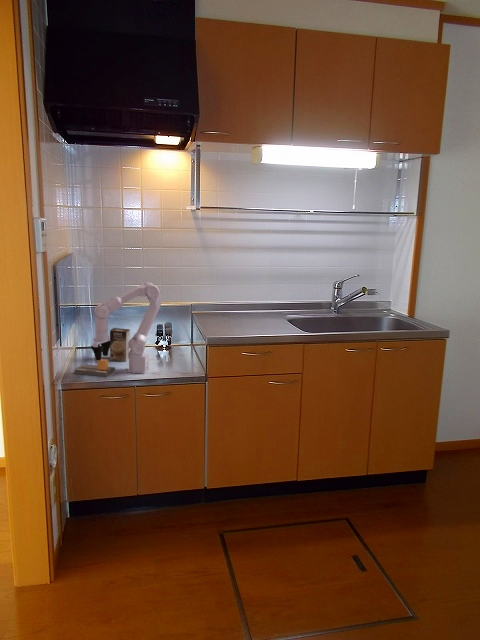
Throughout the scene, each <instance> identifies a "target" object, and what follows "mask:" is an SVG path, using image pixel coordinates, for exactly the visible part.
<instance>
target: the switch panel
mask: <svg viewBox="0 0 480 640" xmlns="http://www.w3.org/2000/svg"><path fill="white" fill-rule="evenodd" d="M91 365H92V364H87V365H86V364H81V365H80V366H78V367H76V368H75V369H74V374H76V375H86V376H92V377H93V376H94V377H95V376H96V377H105V378H107V377H108V376H109V375H111V374H112V373H113V372H114V370H113V368H111V367H112V366H108V369H107V370H98V365H97V366H91Z"/></svg>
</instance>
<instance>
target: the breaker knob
mask: <svg viewBox="0 0 480 640" xmlns="http://www.w3.org/2000/svg"><path fill="white" fill-rule="evenodd" d="M96 361H97V366H98V370H107V369H108V367H109V359H107V358H106V359H105V358H101V360H100V361H99V360H96Z"/></svg>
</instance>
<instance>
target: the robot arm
mask: <svg viewBox="0 0 480 640" xmlns="http://www.w3.org/2000/svg"><path fill="white" fill-rule="evenodd" d="M161 293H162V292H161V291H160V289H159V287H158V285H156V284H154V283H153V282H150V281H146V282H144V283H142V284H140V285H138V286H137V287H135V288H133V289H131V290H130V291H129V292H127V293H125V294H123V295H122V296H115V297H114V296H112V297H111V298H110V299H109V300H107V301H105V302H104V301H103V302H101V304H97V305H96V306H95V307H94V310H93V313H94V315H95V320H94V326H95V327H94V329H95V331H94V332H95V334H94V336H95V337H94V338H92V341H93V342H92V345H90V349H91V350H92V352H93V354H94V357H95V360H96V361H97V360H99V361H100V360H101V359H102V357H108V355H109V353H110V345H111V343H112V341H110V335H109V331H108V330H109V323H108V317H109V315H110V314H112V313H114V312H116V311H117V310H119V309H122V308H123V306H124V304H125V303H128V302H130V301H131V300H133V299H135V298H137V297H146V298H147V299H148V300H147V301H148V303H149V304H148V307H147V309H146V311H145V313H144V316H143V318H142V320H141V322H140V325H139V326H138V329H137V331H136V333H134V335H133V337H131V338H130V341H129V343H128V346H129V348H130V351H129V359H128V368H127V370H126V371H125V372H127V373H135V374H143V375H144V374H146V373H147V372H148V371H149V370H150V355H149V354H148V353H145V349H146V343H147V336H148V334H149V331H150V330H151V327H152V325H153V323H154V321H155V319H156V316H157V315H158V312H159V311H160V308H161V306H162V299H161Z"/></svg>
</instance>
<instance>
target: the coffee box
mask: <svg viewBox="0 0 480 640" xmlns="http://www.w3.org/2000/svg"><path fill="white" fill-rule="evenodd" d="M130 331H131V329H129V328H119V327H113V328H111V329H110V330H109V336H110V340H109V341H112V343H111V345H110V348H109V361H118V362H127V361H129V351H130V348H129V346H128V343H129V341H130V339H131V337H130V336H131V335H130V334H131V332H130Z"/></svg>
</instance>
